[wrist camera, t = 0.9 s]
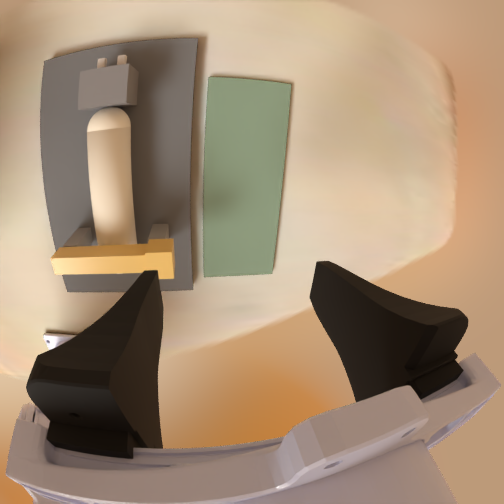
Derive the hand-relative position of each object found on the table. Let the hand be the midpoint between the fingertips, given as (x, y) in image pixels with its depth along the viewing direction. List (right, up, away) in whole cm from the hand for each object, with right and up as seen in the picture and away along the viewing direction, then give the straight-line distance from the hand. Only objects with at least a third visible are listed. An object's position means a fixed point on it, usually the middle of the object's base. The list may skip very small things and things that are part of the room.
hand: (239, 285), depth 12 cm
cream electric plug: (-9, +8, +5) cm, 13 cm away
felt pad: (0, +7, +8) cm, 11 cm away
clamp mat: (-10, +7, +6) cm, 14 cm away
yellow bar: (-9, +1, +4) cm, 10 cm away
